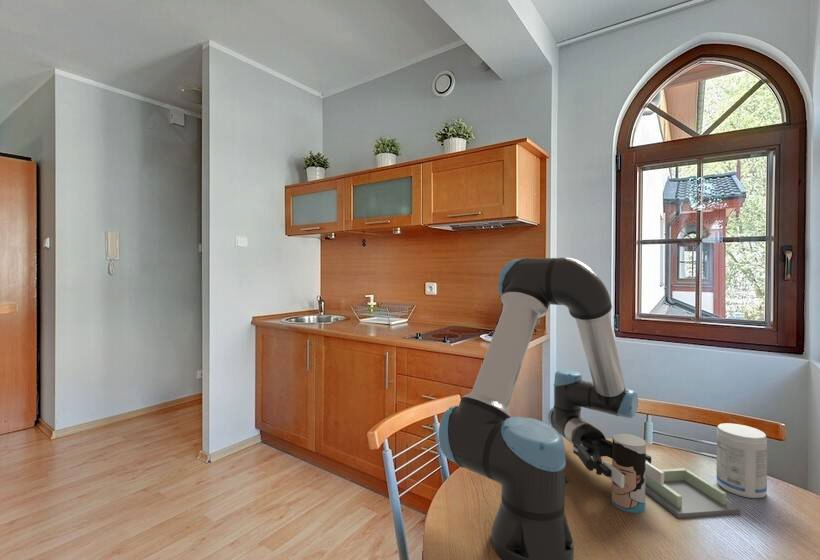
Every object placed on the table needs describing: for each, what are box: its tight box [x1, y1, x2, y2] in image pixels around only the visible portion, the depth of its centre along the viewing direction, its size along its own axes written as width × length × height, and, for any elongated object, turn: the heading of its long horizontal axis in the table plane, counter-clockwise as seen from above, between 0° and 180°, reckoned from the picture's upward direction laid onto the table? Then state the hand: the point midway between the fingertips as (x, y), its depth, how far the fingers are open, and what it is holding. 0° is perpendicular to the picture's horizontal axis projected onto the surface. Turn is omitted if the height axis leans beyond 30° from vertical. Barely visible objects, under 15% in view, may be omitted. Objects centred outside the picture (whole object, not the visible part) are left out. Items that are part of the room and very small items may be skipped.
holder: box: [645, 467, 741, 519], centre depth 94 cm, size 15×15×4 cm
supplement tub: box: [716, 422, 768, 499], centre depth 97 cm, size 10×10×15 cm
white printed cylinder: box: [611, 433, 647, 514], centre depth 90 cm, size 7×7×15 cm
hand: (642, 480), depth 86 cm, fingers open, 9 cm apart
